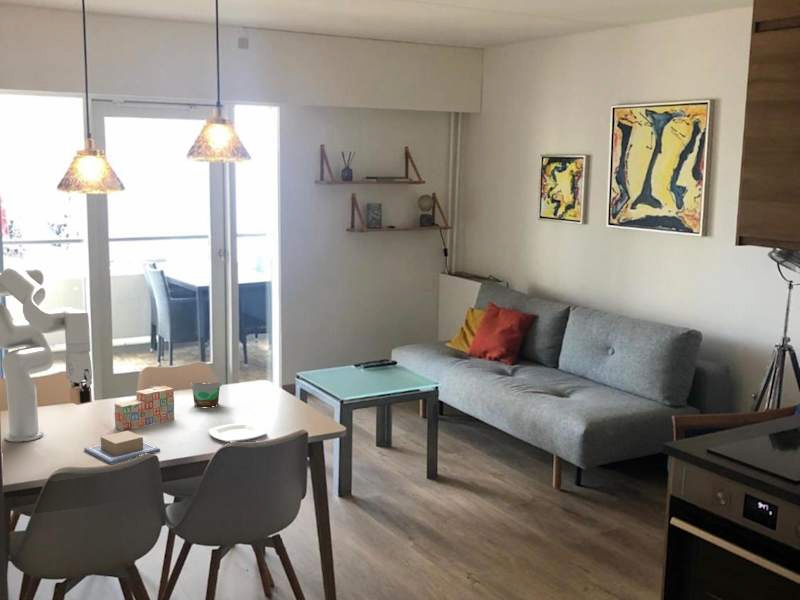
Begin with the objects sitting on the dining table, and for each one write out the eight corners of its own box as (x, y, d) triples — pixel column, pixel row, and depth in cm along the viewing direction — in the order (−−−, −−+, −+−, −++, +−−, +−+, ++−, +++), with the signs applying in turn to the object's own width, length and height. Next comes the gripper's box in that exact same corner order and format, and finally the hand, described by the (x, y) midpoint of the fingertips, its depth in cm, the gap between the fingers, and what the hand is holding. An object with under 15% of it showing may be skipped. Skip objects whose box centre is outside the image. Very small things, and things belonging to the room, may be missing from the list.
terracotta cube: (70, 402, 283) (69, 387, 282) (85, 399, 287) (84, 385, 286) (77, 405, 280) (76, 390, 279) (91, 402, 283) (91, 387, 283)
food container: (190, 409, 336) (190, 385, 335) (190, 405, 342) (190, 381, 341) (222, 408, 339) (221, 383, 338) (221, 403, 345) (221, 380, 344)
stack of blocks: (123, 431, 308) (122, 398, 306) (114, 427, 313) (113, 395, 311) (174, 419, 324) (173, 388, 322) (165, 415, 328) (164, 385, 326)
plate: (201, 434, 307) (201, 428, 307) (250, 425, 318) (250, 420, 318) (223, 448, 292) (223, 443, 292) (273, 438, 303) (273, 433, 303)
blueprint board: (84, 450, 286) (83, 436, 285) (132, 439, 299) (132, 425, 298) (110, 464, 274) (110, 449, 273) (160, 451, 287) (159, 437, 286)
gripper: (55, 345, 284) (59, 398, 286) (78, 352, 272) (82, 407, 275) (77, 342, 289) (80, 394, 292) (100, 349, 277) (103, 403, 280)
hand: (81, 400), depth 283 cm, fingers closed on terracotta cube, 5 cm apart
